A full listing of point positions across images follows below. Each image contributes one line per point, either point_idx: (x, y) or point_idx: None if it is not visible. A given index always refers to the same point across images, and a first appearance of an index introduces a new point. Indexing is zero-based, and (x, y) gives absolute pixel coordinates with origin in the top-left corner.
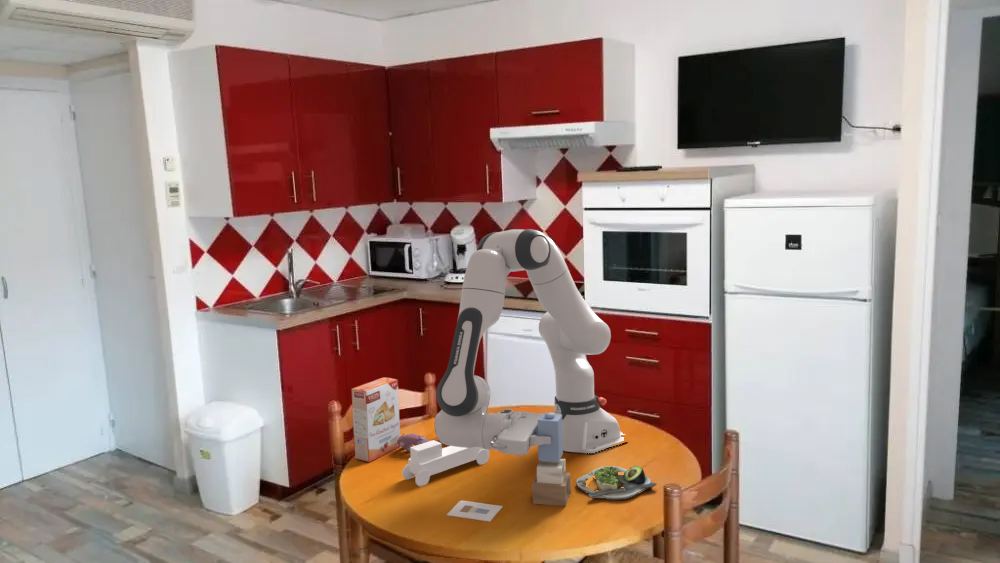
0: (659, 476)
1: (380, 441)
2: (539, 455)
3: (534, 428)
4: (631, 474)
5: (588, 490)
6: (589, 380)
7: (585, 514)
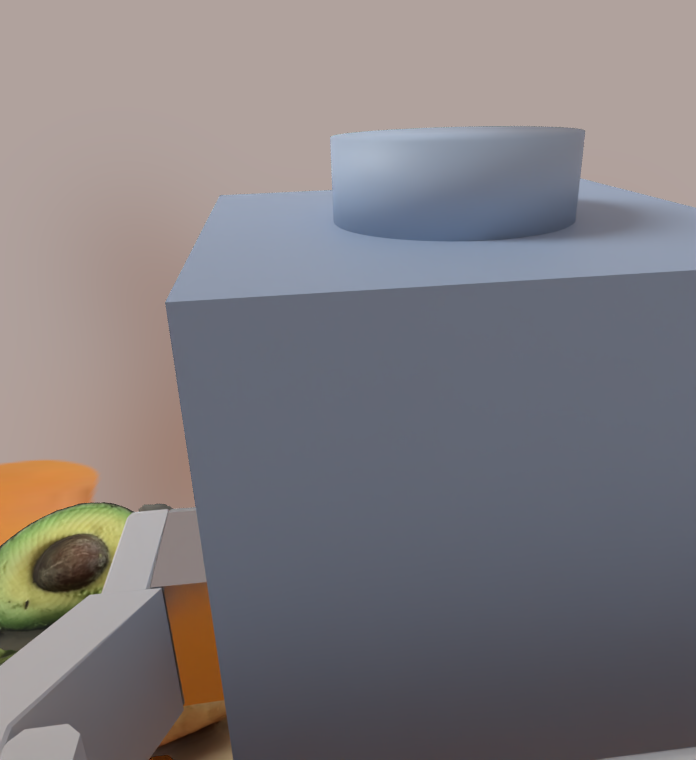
0: (3, 537)
1: None
2: None
3: (629, 757)
4: (100, 555)
5: None
6: None
7: None
